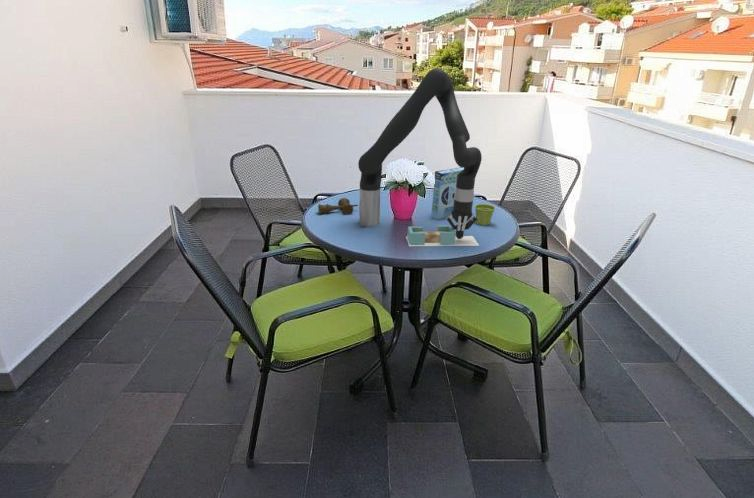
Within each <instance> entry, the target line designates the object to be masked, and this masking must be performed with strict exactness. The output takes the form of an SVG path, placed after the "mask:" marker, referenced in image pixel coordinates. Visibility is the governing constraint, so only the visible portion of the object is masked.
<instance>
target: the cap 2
mask: <svg viewBox="0 0 754 498" xmlns="http://www.w3.org/2000/svg"><path fill="white" fill-rule="evenodd" d="M441 231H445V232H441ZM436 232H440V244H455V236H456V230H454V229H453V227H452V226H451V225H450V224H449V225H436Z"/></svg>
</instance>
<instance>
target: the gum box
mask: <svg viewBox="0 0 754 498" xmlns="http://www.w3.org/2000/svg"><path fill="white" fill-rule="evenodd" d="M463 169H464V168H463V167H460V166H458V167H454V168H447V169H443V170H435V171H434V178H435V184H434V183H433V193H432V203H431V215H430V216H431V218H432V219H434V220H442V219H443V220H444V219H446V217H447V216H450V215H451V213H452V211H453V204H454V195H455V189H456V182H457V175H458V174H459V173H460V172H462V171H463Z"/></svg>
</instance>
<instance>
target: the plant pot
mask: <svg viewBox="0 0 754 498" xmlns="http://www.w3.org/2000/svg"><path fill="white" fill-rule="evenodd" d="M474 210H475V217H476V218H477V220H476V221H475V224H478V225H481V226H488V225H491V221H492V217H493V214H494V213H495V210H496V207H495V206H493V205H491V204H487V203H479V204H478V203H477V204H475V205H474Z"/></svg>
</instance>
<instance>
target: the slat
mask: <svg viewBox="0 0 754 498" xmlns="http://www.w3.org/2000/svg"><path fill="white" fill-rule="evenodd" d="M424 232H425V243H440V232H437V231H424ZM441 232H445V231H441Z"/></svg>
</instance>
